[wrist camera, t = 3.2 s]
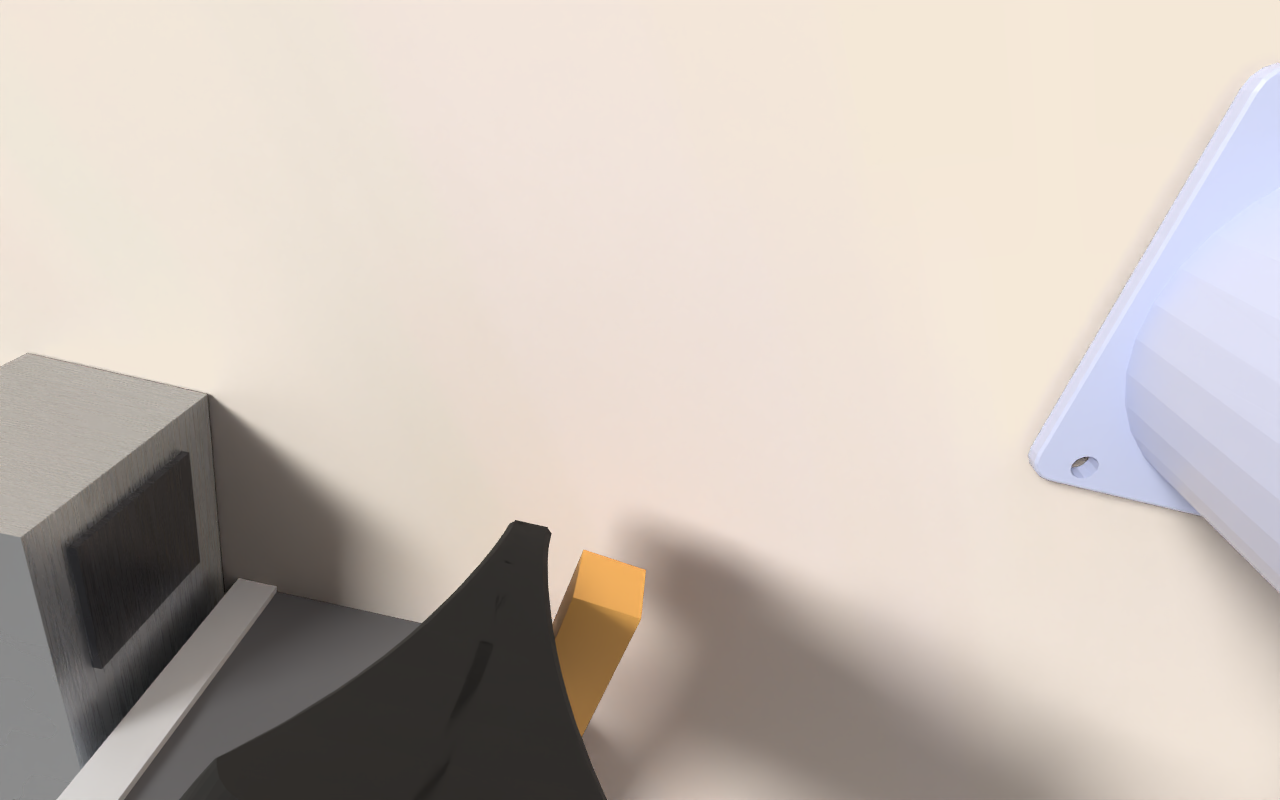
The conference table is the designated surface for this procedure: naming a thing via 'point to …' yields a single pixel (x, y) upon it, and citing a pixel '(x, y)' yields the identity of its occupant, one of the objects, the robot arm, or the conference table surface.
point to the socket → (94, 556)
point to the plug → (233, 688)
